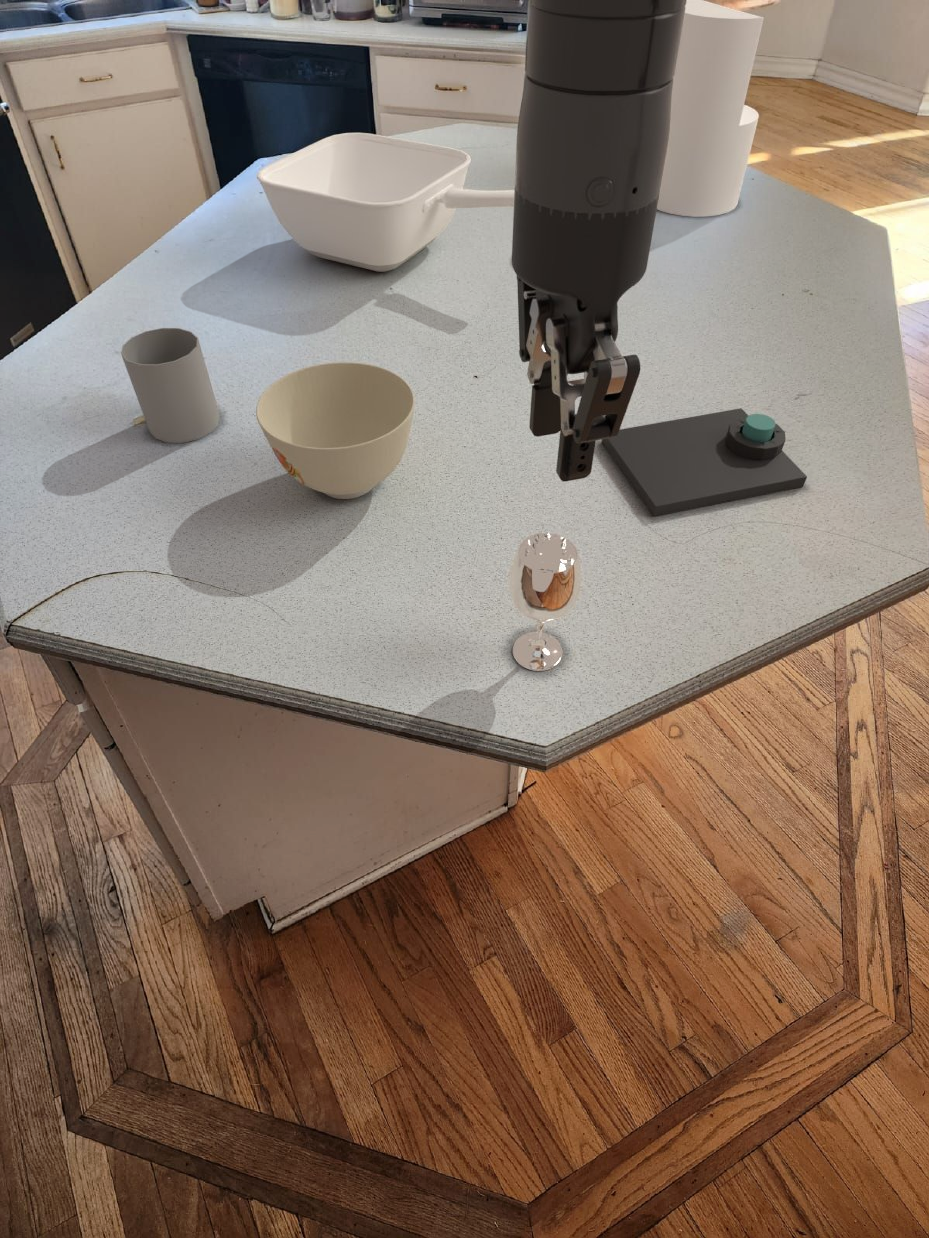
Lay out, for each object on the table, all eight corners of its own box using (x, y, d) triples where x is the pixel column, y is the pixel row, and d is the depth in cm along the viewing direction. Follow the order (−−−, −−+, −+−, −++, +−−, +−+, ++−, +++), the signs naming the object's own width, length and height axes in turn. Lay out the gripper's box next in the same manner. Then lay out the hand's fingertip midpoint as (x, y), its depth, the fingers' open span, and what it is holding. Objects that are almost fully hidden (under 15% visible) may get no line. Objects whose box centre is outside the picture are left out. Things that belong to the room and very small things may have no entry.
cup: (231, 427, 91) (210, 349, 84) (166, 451, 88) (138, 373, 81) (202, 396, 96) (179, 320, 88) (139, 419, 93) (110, 342, 85)
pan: (352, 209, 138) (343, 124, 128) (573, 257, 124) (582, 166, 114) (258, 265, 122) (239, 173, 112) (499, 327, 108) (503, 228, 98)
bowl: (267, 452, 88) (248, 374, 80) (401, 430, 91) (395, 352, 83) (284, 541, 77) (264, 461, 70) (435, 513, 80) (431, 433, 73)
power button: (761, 425, 87) (765, 411, 85) (776, 440, 84) (781, 427, 83) (736, 429, 86) (740, 416, 85) (751, 445, 84) (755, 431, 83)
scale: (742, 417, 92) (749, 395, 90) (807, 486, 83) (816, 463, 81) (601, 442, 89) (604, 420, 87) (653, 516, 80) (658, 494, 78)
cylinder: (678, 223, 133) (717, 23, 112) (624, 191, 143) (651, 2, 123) (757, 207, 138) (808, 12, 117) (699, 177, 148) (737, -6, 127)
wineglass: (501, 672, 66) (506, 574, 57) (509, 623, 70) (515, 524, 61) (567, 680, 65) (582, 582, 56) (572, 631, 69) (587, 532, 60)
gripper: (721, 223, 35) (654, 508, 48) (600, 132, 44) (571, 391, 57) (570, 242, 34) (542, 530, 46) (478, 144, 43) (476, 406, 56)
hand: (558, 452), depth 52 cm, fingers open, 4 cm apart
